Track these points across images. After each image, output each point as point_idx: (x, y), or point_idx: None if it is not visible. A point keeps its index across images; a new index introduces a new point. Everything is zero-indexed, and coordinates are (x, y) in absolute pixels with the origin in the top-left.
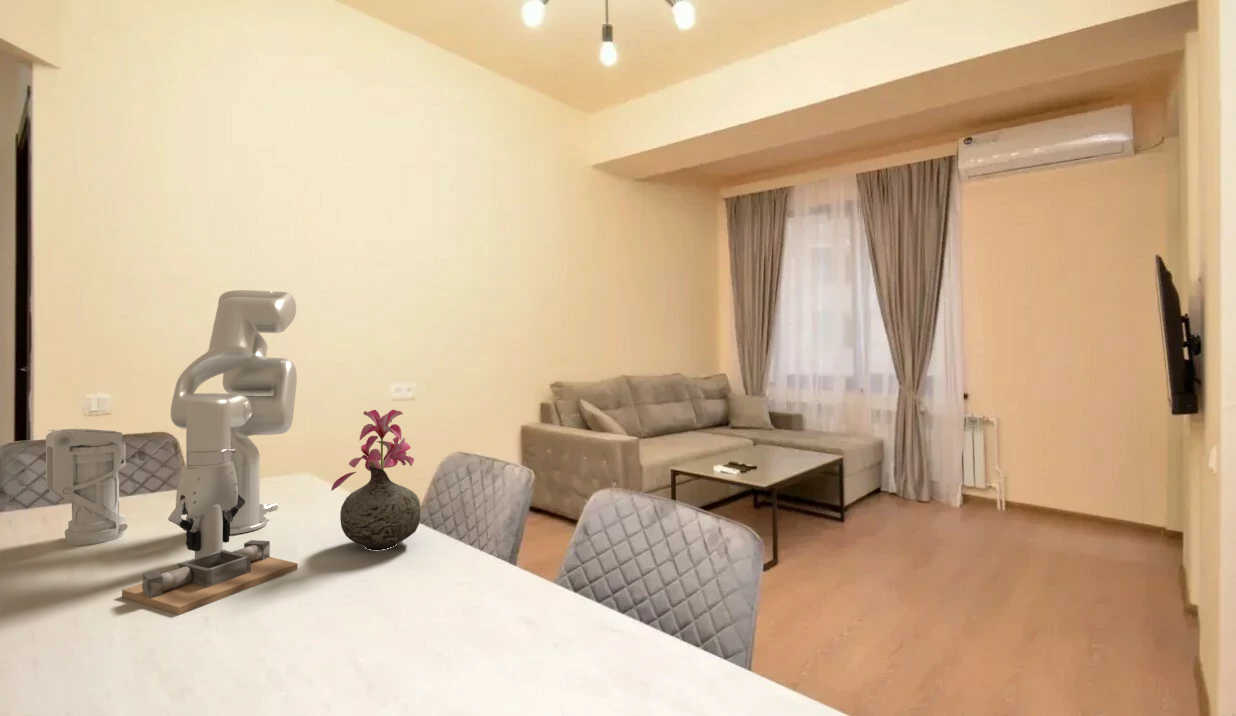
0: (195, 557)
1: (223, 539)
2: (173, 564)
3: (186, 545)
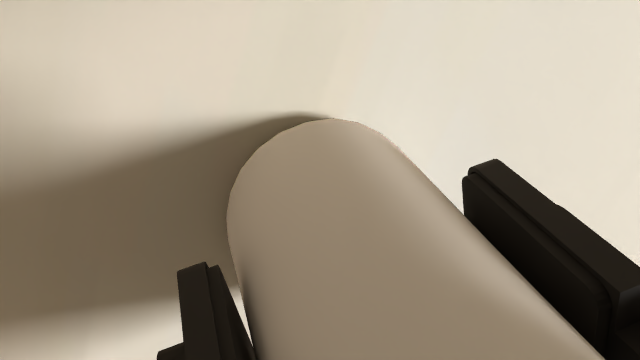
0: (228, 234)
1: None
2: (61, 153)
3: (158, 354)
